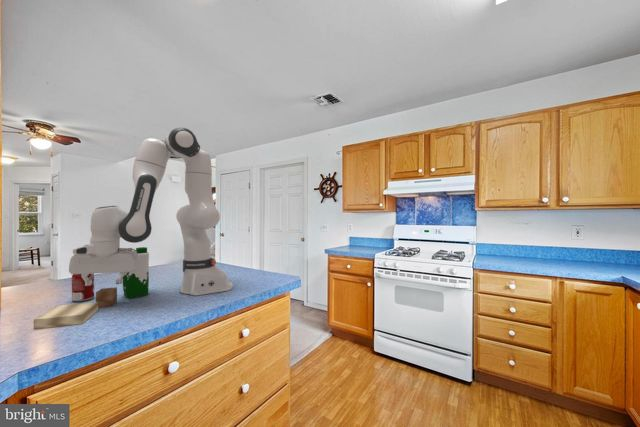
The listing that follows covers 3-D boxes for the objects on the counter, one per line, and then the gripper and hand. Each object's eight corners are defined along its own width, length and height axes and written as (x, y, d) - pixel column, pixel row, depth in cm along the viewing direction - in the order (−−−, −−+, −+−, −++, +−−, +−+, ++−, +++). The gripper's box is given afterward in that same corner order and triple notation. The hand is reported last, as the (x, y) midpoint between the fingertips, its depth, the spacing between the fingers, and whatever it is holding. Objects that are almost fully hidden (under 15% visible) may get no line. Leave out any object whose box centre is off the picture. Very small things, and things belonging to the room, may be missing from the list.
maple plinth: (98, 310, 98) (98, 302, 98) (82, 323, 86) (82, 314, 86) (55, 314, 93) (55, 305, 93) (33, 329, 82) (33, 319, 82)
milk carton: (151, 294, 115) (150, 248, 114) (125, 300, 108) (125, 250, 108) (145, 290, 121) (145, 246, 120) (120, 295, 114) (120, 248, 114)
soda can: (81, 303, 104) (80, 272, 104) (67, 301, 105) (66, 271, 105) (98, 297, 111) (98, 268, 110) (85, 296, 112) (85, 267, 112)
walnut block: (117, 302, 106) (116, 287, 106) (112, 306, 101) (112, 291, 101) (101, 303, 104) (101, 288, 104) (96, 308, 99) (95, 292, 99)
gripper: (139, 246, 109) (138, 280, 109) (75, 247, 101) (74, 284, 101) (134, 248, 103) (133, 284, 103) (67, 249, 95) (65, 288, 95)
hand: (103, 284), depth 102 cm, fingers open, 8 cm apart
